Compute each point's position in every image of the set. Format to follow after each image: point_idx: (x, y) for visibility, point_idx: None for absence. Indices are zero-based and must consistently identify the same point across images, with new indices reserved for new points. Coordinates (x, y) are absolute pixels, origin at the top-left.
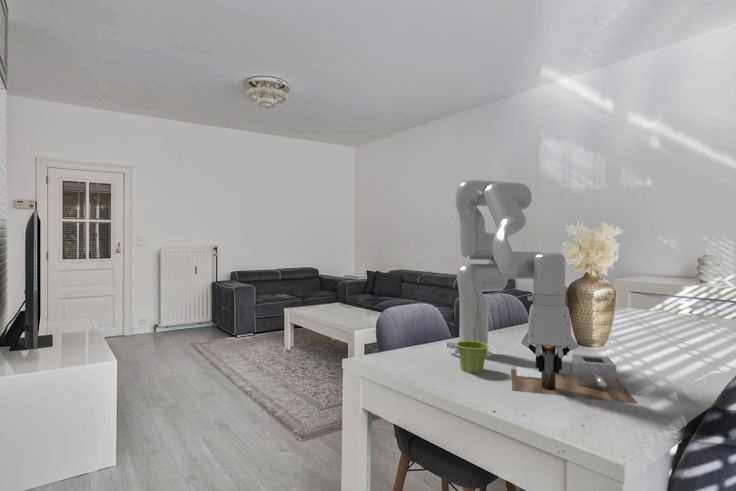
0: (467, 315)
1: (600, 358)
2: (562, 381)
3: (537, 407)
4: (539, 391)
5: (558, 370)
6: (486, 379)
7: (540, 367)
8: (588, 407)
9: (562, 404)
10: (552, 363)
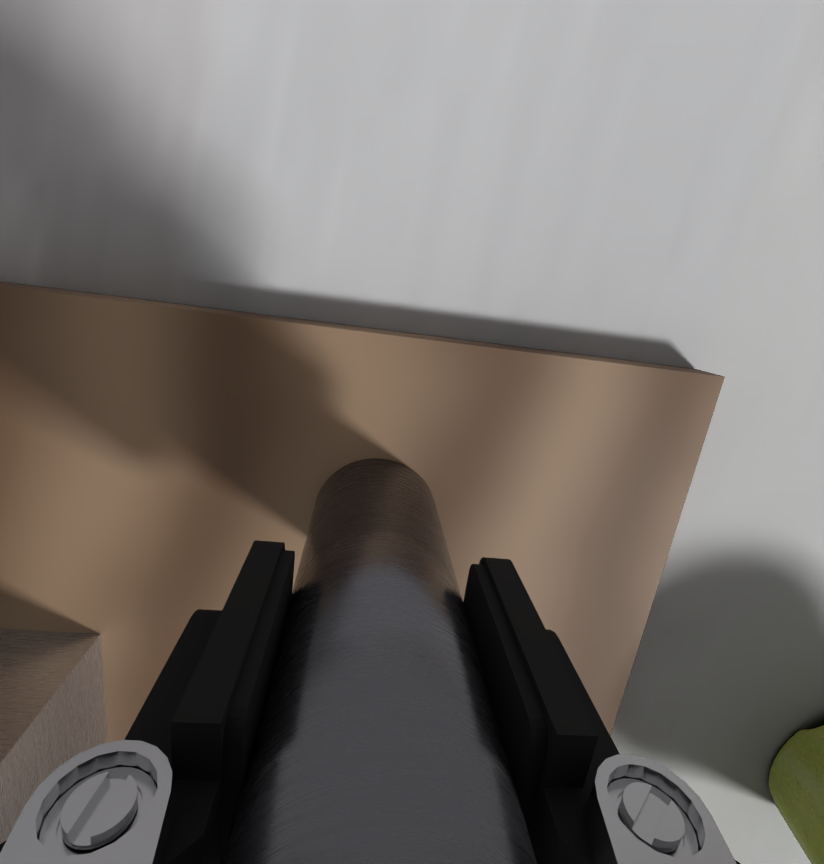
0: None
1: None
2: None
3: (566, 74)
4: (481, 397)
5: (255, 558)
6: (773, 676)
7: (511, 588)
8: (78, 172)
9: (313, 211)
10: (332, 641)
